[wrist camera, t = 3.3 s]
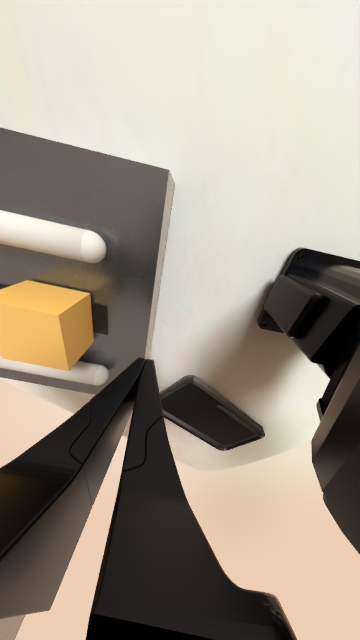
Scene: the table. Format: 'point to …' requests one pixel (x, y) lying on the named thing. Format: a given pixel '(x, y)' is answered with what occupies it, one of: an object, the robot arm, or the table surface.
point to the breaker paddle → (44, 324)
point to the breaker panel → (102, 218)
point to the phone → (208, 414)
